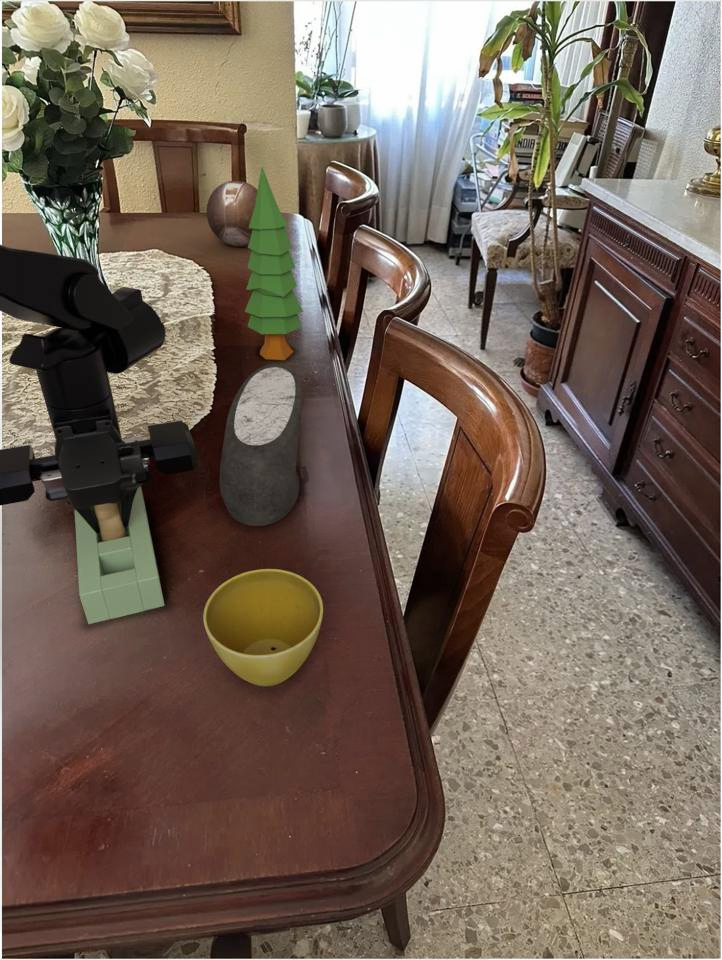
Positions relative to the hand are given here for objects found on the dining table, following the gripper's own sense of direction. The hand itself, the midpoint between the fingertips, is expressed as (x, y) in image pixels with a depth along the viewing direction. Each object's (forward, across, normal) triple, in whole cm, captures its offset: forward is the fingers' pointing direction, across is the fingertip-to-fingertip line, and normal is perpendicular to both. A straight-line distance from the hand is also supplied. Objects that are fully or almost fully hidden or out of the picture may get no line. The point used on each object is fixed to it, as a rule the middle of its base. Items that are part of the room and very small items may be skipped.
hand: (111, 527), depth 69 cm
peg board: (+4, 0, 0) cm, 4 cm away
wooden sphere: (+4, +38, +110) cm, 116 cm away
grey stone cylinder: (+4, +20, +11) cm, 23 cm away
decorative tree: (+4, +30, +46) cm, 55 cm away
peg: (+2, 0, 0) cm, 2 cm away
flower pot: (+4, +12, -19) cm, 23 cm away
